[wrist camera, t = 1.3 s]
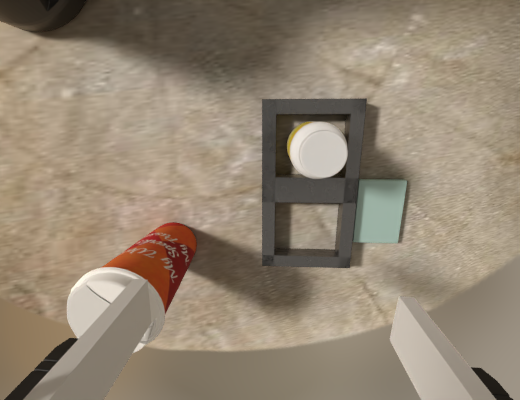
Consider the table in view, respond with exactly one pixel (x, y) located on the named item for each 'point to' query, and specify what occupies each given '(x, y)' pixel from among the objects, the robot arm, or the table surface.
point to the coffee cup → (136, 267)
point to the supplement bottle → (317, 149)
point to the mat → (379, 210)
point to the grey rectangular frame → (311, 182)
